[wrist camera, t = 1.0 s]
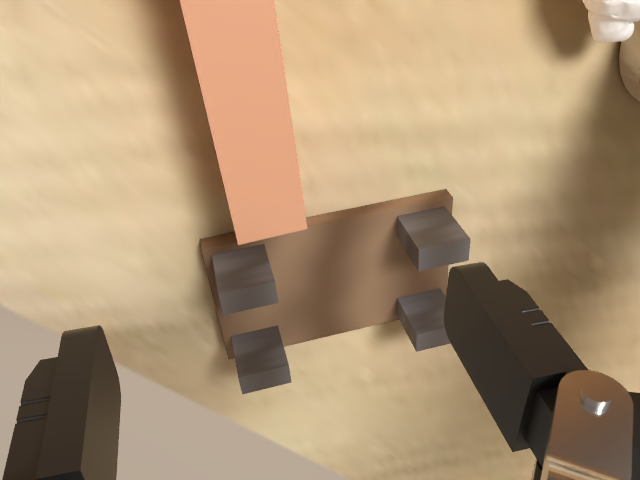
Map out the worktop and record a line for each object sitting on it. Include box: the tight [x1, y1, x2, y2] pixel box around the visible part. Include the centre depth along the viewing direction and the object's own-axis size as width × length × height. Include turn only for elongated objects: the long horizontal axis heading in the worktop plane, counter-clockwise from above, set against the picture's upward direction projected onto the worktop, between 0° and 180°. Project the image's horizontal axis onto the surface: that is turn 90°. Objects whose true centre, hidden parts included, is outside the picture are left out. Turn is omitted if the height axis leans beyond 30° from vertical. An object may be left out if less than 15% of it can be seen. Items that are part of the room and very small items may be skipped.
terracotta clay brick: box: [180, 0, 307, 245], centre depth 26 cm, size 4×16×5 cm, turn 6°
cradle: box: [200, 189, 470, 394], centre depth 36 cm, size 15×9×4 cm, turn 94°
